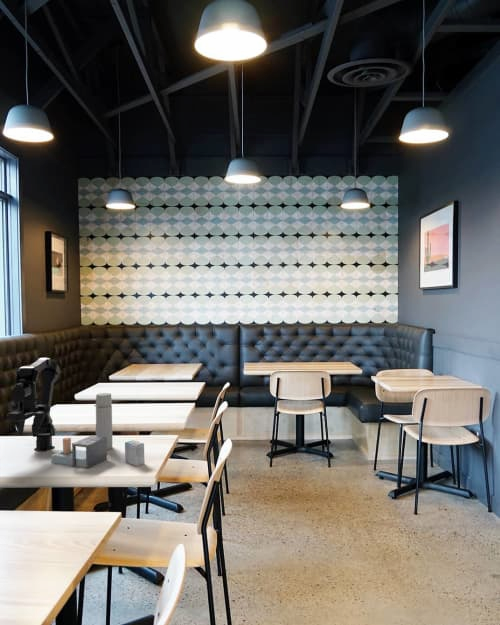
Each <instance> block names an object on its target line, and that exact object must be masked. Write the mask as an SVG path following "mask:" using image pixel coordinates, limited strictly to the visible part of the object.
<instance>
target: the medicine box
mask: <svg viewBox="0 0 500 625" xmlns="http://www.w3.org/2000/svg"><path fill="white" fill-rule="evenodd" d="M124 458H125V463H126V464H129V465H133V466H135V467H138V466H142V465H144V464H145V444H144V443H143V442H140V441H137V440H134V439H133V440H128V441H125V442H124Z"/></svg>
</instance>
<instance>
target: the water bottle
mask: <svg viewBox="0 0 500 625" xmlns="http://www.w3.org/2000/svg"><path fill="white" fill-rule="evenodd" d="M112 404H113V399H112V393H111V392H99V393H97V394H96V397H95V405H94V407H95V436H98V437H107V451H108V450H110V449H112V448H113V408H112V407H113V405H112Z"/></svg>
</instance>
